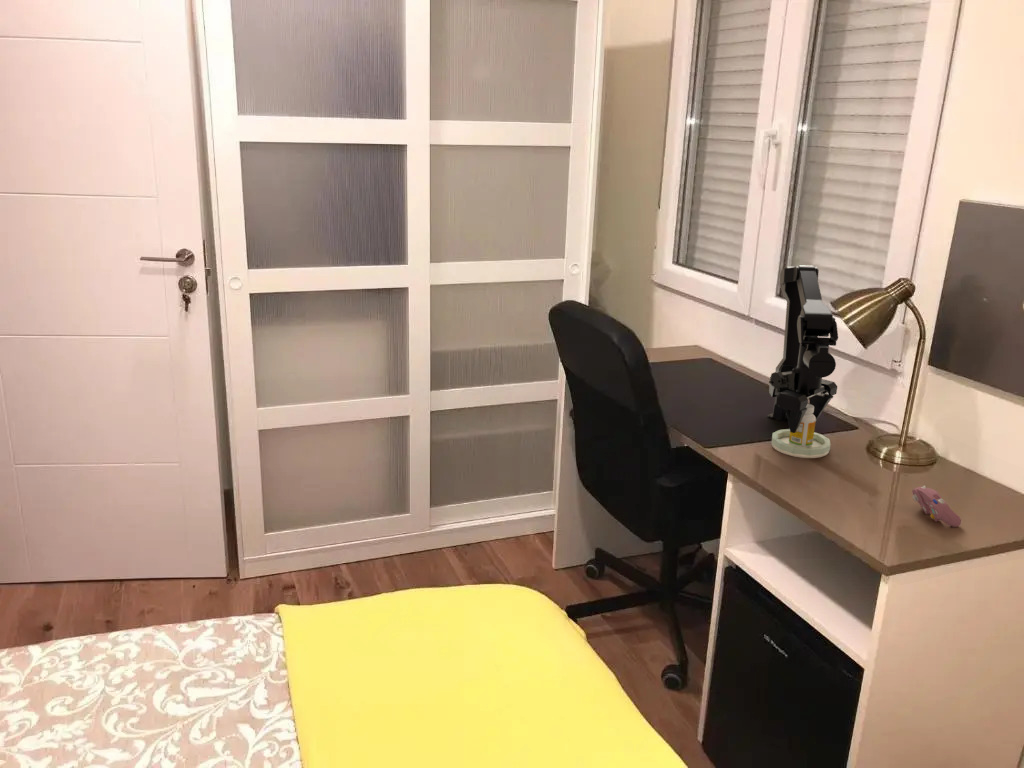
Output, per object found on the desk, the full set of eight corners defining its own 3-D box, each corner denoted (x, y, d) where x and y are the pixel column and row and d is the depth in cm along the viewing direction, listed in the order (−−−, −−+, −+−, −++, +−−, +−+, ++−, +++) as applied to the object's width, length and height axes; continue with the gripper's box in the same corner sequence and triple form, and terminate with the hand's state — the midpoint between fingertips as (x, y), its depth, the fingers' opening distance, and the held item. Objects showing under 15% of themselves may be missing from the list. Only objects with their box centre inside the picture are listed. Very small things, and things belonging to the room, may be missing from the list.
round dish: (788, 433, 205) (789, 425, 204) (838, 448, 196) (840, 439, 196) (761, 446, 197) (762, 438, 196) (812, 462, 188) (813, 453, 187)
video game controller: (914, 512, 168) (904, 485, 166) (935, 503, 168) (925, 475, 165) (942, 536, 158) (932, 507, 156) (964, 526, 158) (954, 496, 156)
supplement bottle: (809, 440, 199) (814, 402, 196) (814, 449, 193) (820, 410, 191) (786, 439, 199) (791, 401, 196) (791, 447, 194) (796, 408, 191)
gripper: (798, 350, 202) (790, 410, 207) (758, 364, 190) (751, 428, 194) (842, 360, 194) (833, 422, 199) (803, 375, 182) (794, 441, 187)
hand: (802, 427), depth 195 cm, fingers open, 9 cm apart
